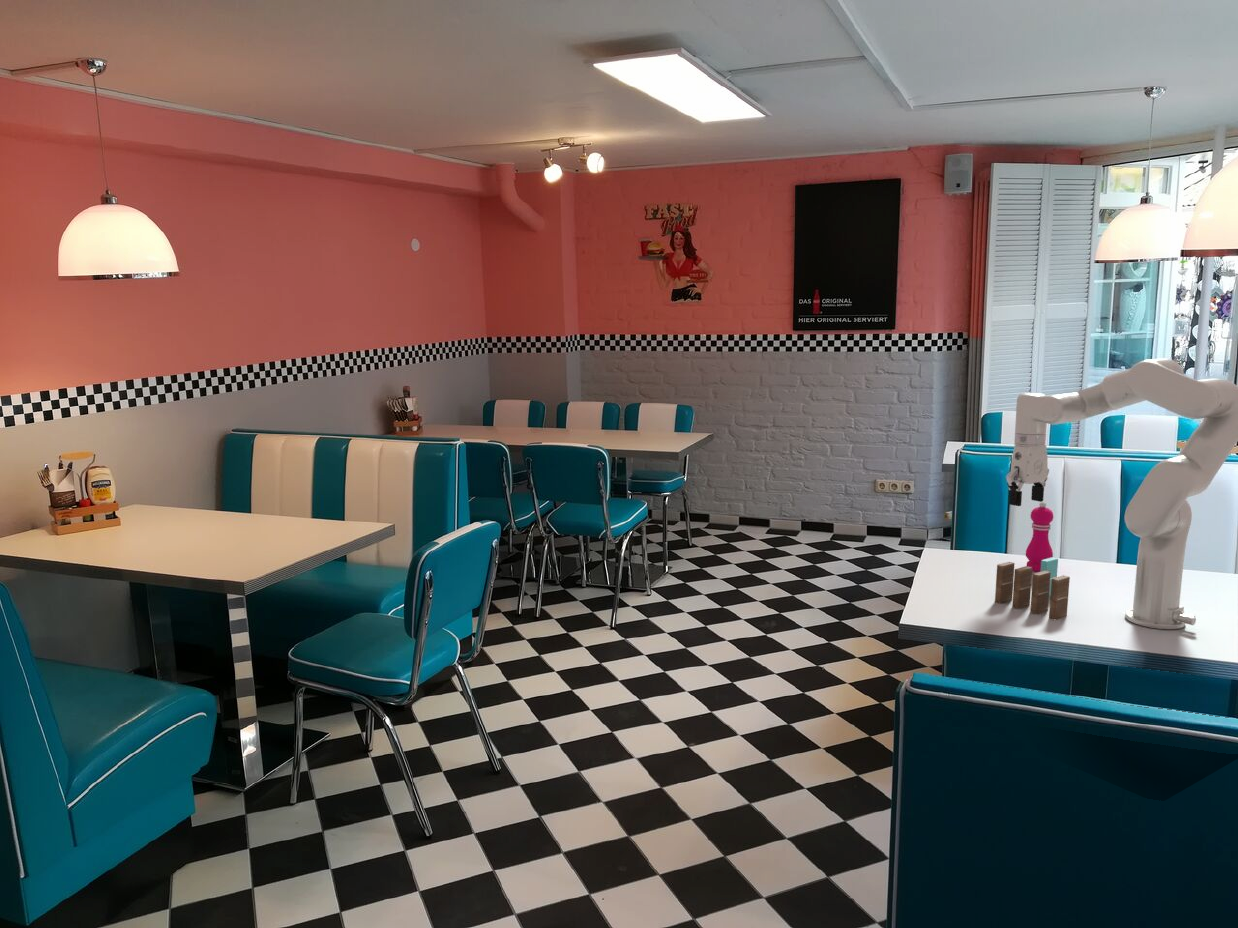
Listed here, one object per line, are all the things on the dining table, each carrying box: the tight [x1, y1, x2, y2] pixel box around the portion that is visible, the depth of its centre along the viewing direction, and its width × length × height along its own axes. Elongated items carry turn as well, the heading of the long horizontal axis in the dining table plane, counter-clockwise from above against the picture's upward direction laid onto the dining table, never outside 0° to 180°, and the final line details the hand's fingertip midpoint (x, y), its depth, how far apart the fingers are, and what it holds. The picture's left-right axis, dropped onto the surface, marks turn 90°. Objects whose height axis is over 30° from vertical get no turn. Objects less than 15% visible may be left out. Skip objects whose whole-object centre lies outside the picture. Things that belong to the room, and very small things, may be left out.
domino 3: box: [1029, 571, 1051, 615], centre depth 228 cm, size 2×5×10 cm, turn 123°
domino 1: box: [994, 561, 1015, 604], centre depth 236 cm, size 2×5×10 cm, turn 123°
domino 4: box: [1041, 556, 1059, 598], centre depth 240 cm, size 2×5×10 cm, turn 123°
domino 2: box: [1011, 565, 1033, 610], centre depth 232 cm, size 2×5×10 cm, turn 123°
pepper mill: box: [1025, 501, 1054, 573], centre depth 264 cm, size 7×7×20 cm
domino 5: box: [1048, 574, 1071, 620], centre depth 224 cm, size 2×5×10 cm, turn 123°
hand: (1026, 503), depth 245 cm, fingers open, 9 cm apart
